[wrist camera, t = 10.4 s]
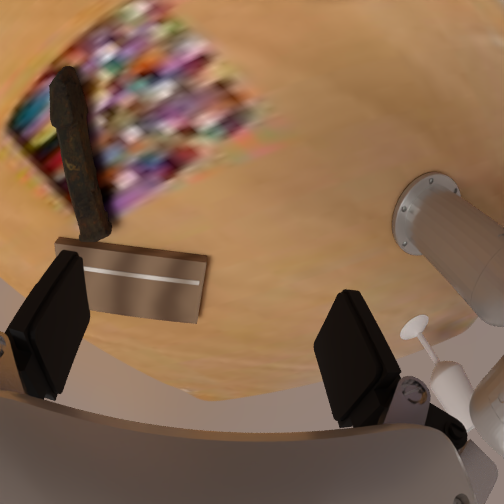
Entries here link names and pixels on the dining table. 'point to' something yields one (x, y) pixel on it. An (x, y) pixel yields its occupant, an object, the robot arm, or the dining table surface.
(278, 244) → the dining table surface
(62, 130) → the hand tool
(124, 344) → the dining table surface
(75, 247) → the board
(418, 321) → the champagne flute
